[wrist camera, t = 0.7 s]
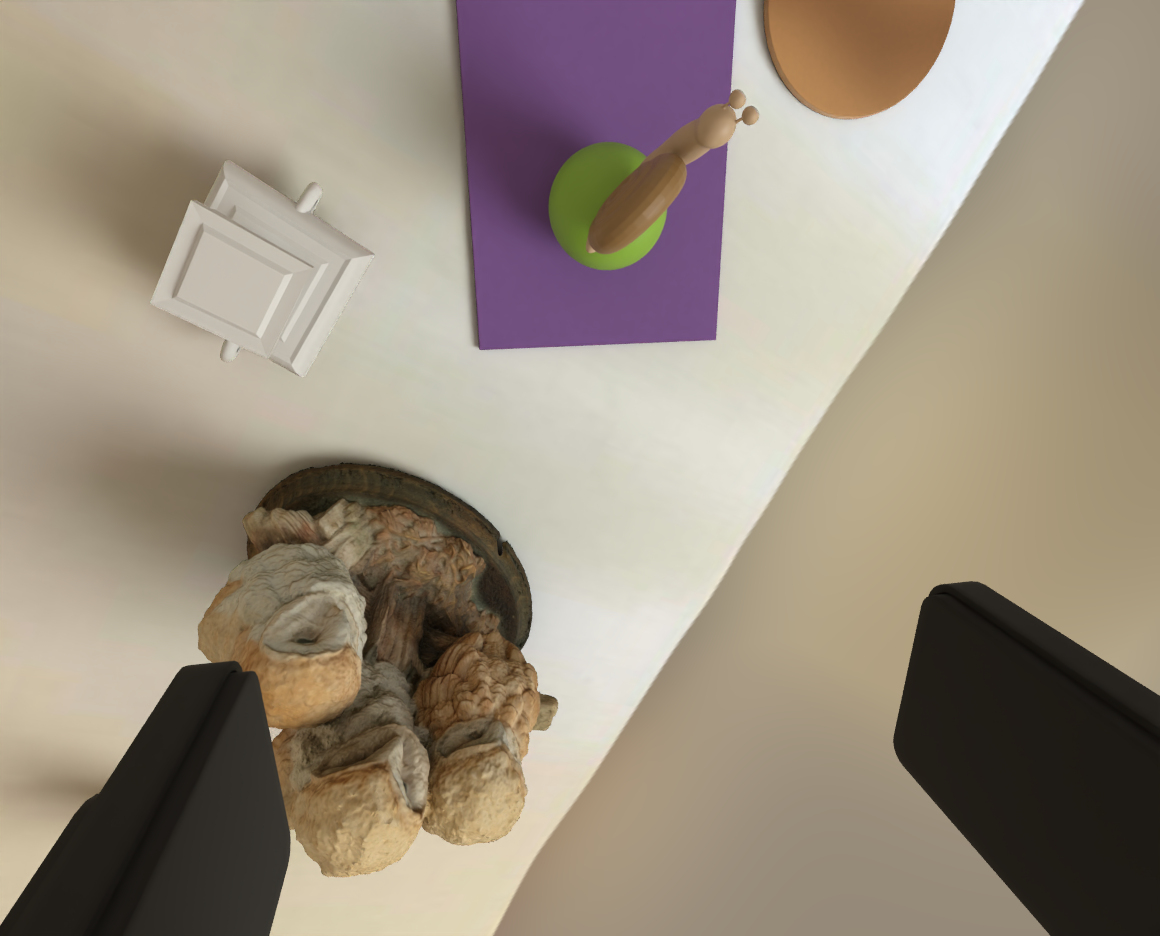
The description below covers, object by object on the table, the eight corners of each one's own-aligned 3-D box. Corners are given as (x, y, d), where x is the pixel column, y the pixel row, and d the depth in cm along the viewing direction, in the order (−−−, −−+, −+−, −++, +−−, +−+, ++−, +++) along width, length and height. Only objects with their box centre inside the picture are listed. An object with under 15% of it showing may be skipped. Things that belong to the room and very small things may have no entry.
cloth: (446, -136, 26) (446, -139, 26) (740, -109, 28) (742, -112, 28) (479, 349, 33) (479, 349, 32) (713, 339, 35) (715, 339, 35)
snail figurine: (681, 192, 32) (805, 163, 21) (598, 290, 33) (673, 314, 21) (605, 108, 30) (696, 26, 19) (518, 215, 31) (556, 197, 20)
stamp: (257, 141, 28) (181, 101, 20) (393, 231, 30) (372, 225, 22) (170, 315, 29) (69, 340, 22) (306, 388, 32) (257, 434, 24)
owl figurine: (588, 574, 38) (683, 803, 23) (478, 712, 40) (494, 1014, 24) (318, 410, 32) (189, 570, 16) (203, 583, 34) (-14, 876, 18)
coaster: (773, -134, 28) (778, -140, 28) (967, -115, 30) (975, -121, 29) (755, 117, 31) (759, 115, 31) (930, 121, 33) (937, 119, 33)
